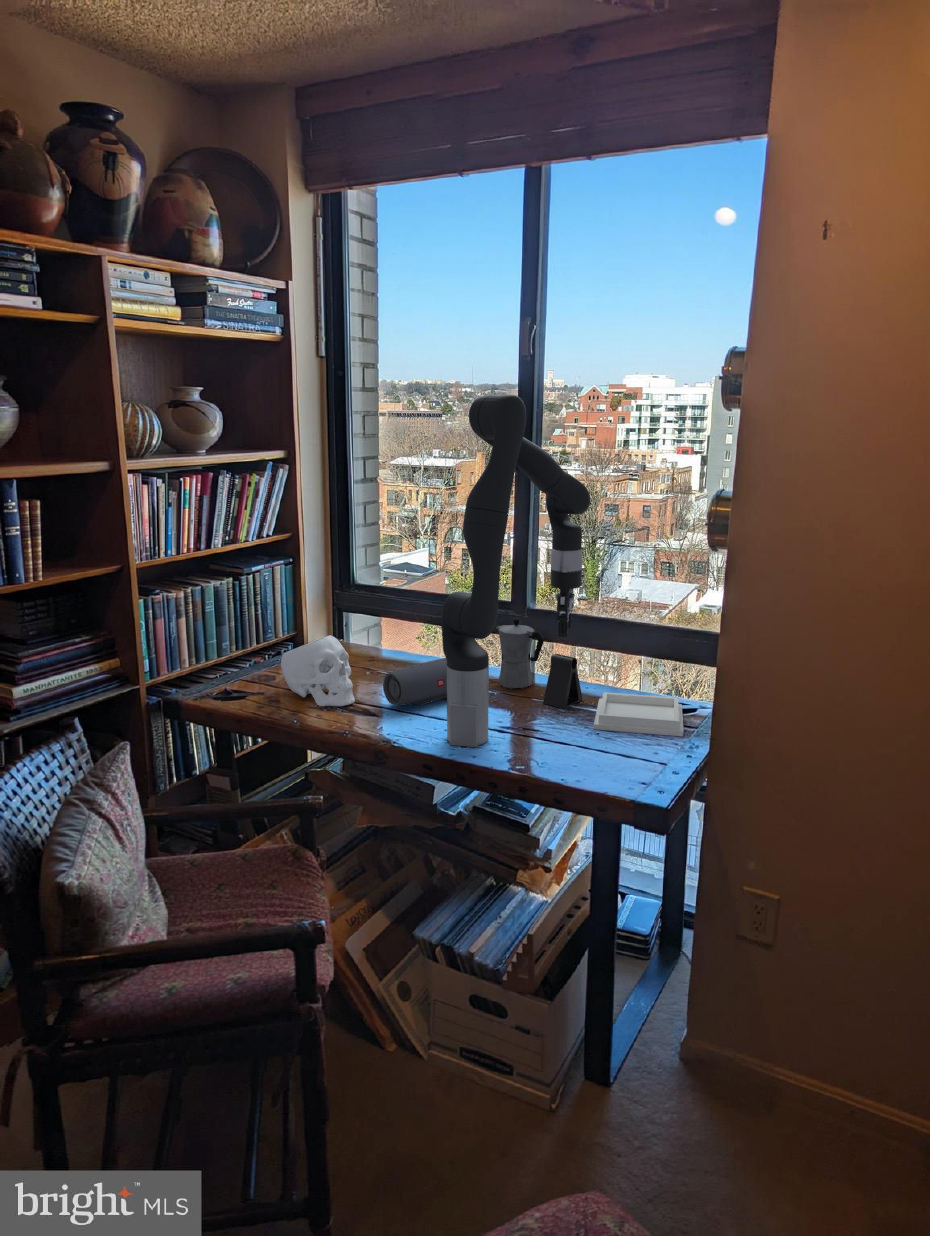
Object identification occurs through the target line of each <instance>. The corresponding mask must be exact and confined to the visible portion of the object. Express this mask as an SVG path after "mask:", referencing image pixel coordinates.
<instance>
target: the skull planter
mask: <svg viewBox="0 0 930 1236" xmlns="http://www.w3.org/2000/svg"><path fill="white" fill-rule="evenodd" d="M349 659H350V654H349V653H348V652H347V651H346V650H345V647H343V645H342V644H341V642H340V641H339V639H337V638H336V637H335V636H333V635H326V636H324V637H321V638H319V639H316V640H313V641H311V642H309V643H308V642H307V643H306V644H303V645H301V646H298V647H296V648H293V649H291V650H288V651H286V652H284V653H283V654H282V656H281V660H280V666H281V670H282V674H283V678H284V679H285V681H286V684H287V685H288V688H289V689H290V690H291V691H292V692H293V693H296V694H298V695H299V696H300V697H302V698H306V697H307V695H309V694H311V696H312V697H313V698H314V702H315V703H316V705H317V706H318V705H319V707H325V706H326V707H344V706H348V705H351V704H354V703H355V701H356V698H355V696H354V693H353V688H354V687H353V686H354V684H353V682H352V680H351V679H350V678H349V677H350V676H351V675H352V668H351V666H350V664H349ZM323 690H328V693H327V694H326V693H325V691H323Z"/></svg>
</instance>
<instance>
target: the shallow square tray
mask: <svg viewBox="0 0 930 1236" xmlns="http://www.w3.org/2000/svg"><path fill="white" fill-rule="evenodd" d="M596 707H597V708H596V712H595V716H594V721H593V722H594V723H593V730H597V731H611V732H623V733H634V734H635V733H636V734H646V735H648V734H649V735H661V736H671V737H673V736H674V737H684V720H683V704H681V703H679V697H673V696H672V697H671V696H658V695H645V694H643V695H642V694H630V693H618V692H615V693H614V692H605V691H604V692H603V693H602V697H600V698H599V699H598V704H597V706H596Z"/></svg>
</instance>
